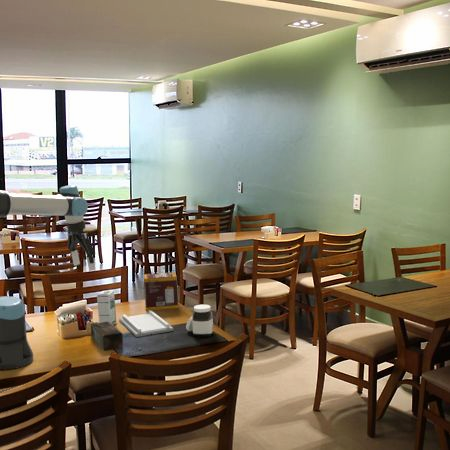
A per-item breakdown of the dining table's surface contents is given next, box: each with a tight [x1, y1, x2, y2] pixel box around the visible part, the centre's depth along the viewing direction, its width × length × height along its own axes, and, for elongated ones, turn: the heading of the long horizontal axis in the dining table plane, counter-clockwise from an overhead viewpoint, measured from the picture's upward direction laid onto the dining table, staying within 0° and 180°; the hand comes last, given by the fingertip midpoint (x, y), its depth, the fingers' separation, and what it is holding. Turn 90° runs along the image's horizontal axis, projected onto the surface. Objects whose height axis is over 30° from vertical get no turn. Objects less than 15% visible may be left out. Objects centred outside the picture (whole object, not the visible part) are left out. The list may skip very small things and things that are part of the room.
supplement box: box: [143, 271, 179, 312], centre depth 273 cm, size 10×15×16 cm
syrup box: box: [96, 290, 117, 326], centre depth 246 cm, size 6×6×14 cm
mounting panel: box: [118, 310, 174, 338], centre depth 244 cm, size 26×16×3 cm, turn 26°
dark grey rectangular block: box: [90, 321, 124, 351], centre depth 224 cm, size 8×19×7 cm, turn 28°
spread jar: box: [185, 304, 214, 338], centre depth 231 cm, size 12×11×12 cm
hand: (84, 267), depth 249 cm, fingers open, 13 cm apart
